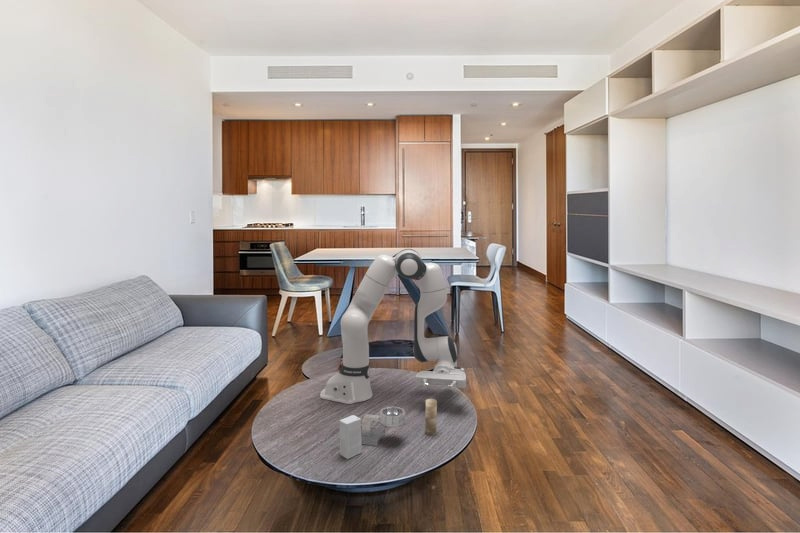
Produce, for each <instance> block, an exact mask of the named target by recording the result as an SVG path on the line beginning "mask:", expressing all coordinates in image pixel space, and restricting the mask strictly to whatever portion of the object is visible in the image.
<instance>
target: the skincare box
mask: <svg viewBox="0 0 800 533" xmlns="http://www.w3.org/2000/svg"><path fill="white" fill-rule="evenodd" d="M338 421H339V454H340V456H341V457H343V458H345V459H346V460H349V459H351V458H354V457H355V456H357V455H360V454H361V453H362V452H363V451H362V444H361V426H362V418H360V417H358V416H356V415H354V414H352V415H349V416H347V417H344V418H342V419H339V420H338Z"/></svg>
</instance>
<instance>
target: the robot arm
mask: <svg viewBox="0 0 800 533" xmlns="http://www.w3.org/2000/svg"><path fill="white" fill-rule="evenodd" d="M397 275H399V276H400V277H402V278H404V279H407V280H415V281H417V283H418V287H419V292H420V294H419V295H420V297H419V301H418V302H417V303H416V304H415V306H414V315H413V347H412V348H413V349H412V350H413V351H412V352H413V353H412V354H413V357H414V359H415V360H417V361H418V362H420V363H426V362H433V361H437V362H436V364H435V366H434V368H433V370H432V371H430V370H420V371H419V372H417V373H416V375H415V378H414V380H415V384H416V385H418V386H423V388H424V389H425V388H426V389H428V388H430V387H443V388H448V390H449V391H450V390H451V391H452V390H454V389H456V388H457V389H466V388H467V374H466V373H465V368H463V367H460V366H459V367H458V361H457V360H458V358H459V350H458V345H457V343H456V342H457V341H455V340H454V338H452V336H449V335H448V336H438V337H429V338H428V337H425V319H426V318H427V316H429V315H431V314H432V313H435V312H437V311H438V310H440V309H441V308H442V307H443V306H444V305H445V304H446V303H447V300H448V290H447V289H448V288H447V284H446V280H445V276H444V273H443V270H442V268H441V266H440V265H439V264H438V263H435V262H424V261H423V259H422V256H421V255H420V254H419V252H418V251H416V250H415V249H412V248H404V249H402V250H400V251H399V252H398V253H396V254H394V255H392V256H390V255H388V254H379V255H378V256H377V257H376V258H375V259H374V260H373V261H372V263H371V264H370V265H369V267H368V269H367V271H366V273H365V274H364V276H363V278H362V280H361V281H360V284H359V285H358V287H357V289H356V291H355V294H354V295H353V297H352V299H351V302H350V303H349V304H348V307H347V309H346V310H345V311H344V313H343V314H342V316H341V318H340V334H341V342H342V361H341V362H340V364H339V365H338V366H337V371H338V372H336V373H335V374H334V375H332V376H331V377H330V378H329V379H327V381H326V384H325V387H324V388H323V389H322V390H321V391H320V394H319V398H320V399H323V400H328V401H333V402H336V403H342V404H346V405H352V404H355V403H361V402H366V401H368V400H370V399H372V397H373V396H374V395H373V391H372V387H371V381H370V376H371V364H370V345H369V335H368V333H369V331H368V330H369V329H368V326H369V323H370V321H371V320H372V318H373V316H374V314H375V312H376V310H377V309H378V307H379V305H380V303H381V301H382V300H383V298H384V296H385V294H386V292H387V290H388V289H389V287H390V285H391V282H392V281H393V279H394V278H395V277H397ZM429 386H430V387H429Z"/></svg>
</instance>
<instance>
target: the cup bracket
mask: <svg viewBox="0 0 800 533" xmlns="http://www.w3.org/2000/svg"><path fill="white" fill-rule="evenodd" d="M374 422H379V425H381V426H383V427H385V428H383V427H382V428H381V427H374ZM405 424H406V411H405V409H404V408H402V407H399V406H394V405H392V406H385V407H383V408H381V409H380V410H379V415H378V414H371V413H370V414H368V413H365V415H364V416H363V418H361V445H365V446H372V447H373V446H375V447H378V445H379V443H380V442H381V441H382V439H383V437H384V435H385V433H386V428H399V427H402V426H404V425H405Z"/></svg>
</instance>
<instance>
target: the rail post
mask: <svg viewBox="0 0 800 533" xmlns="http://www.w3.org/2000/svg"><path fill="white" fill-rule="evenodd" d="M437 411H438V400H437V399H436V398H435V399H434V398H428V399H426V400H425V414H424V415H425V419H424V420H425V421H424V422H425V423H424V427H425V429H424V433H425V434H426V435H427V436H430V437H431V436H432V437H433V436H436V434H437V422H438V421H437V417H438V416H437V414H438V412H437Z"/></svg>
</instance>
